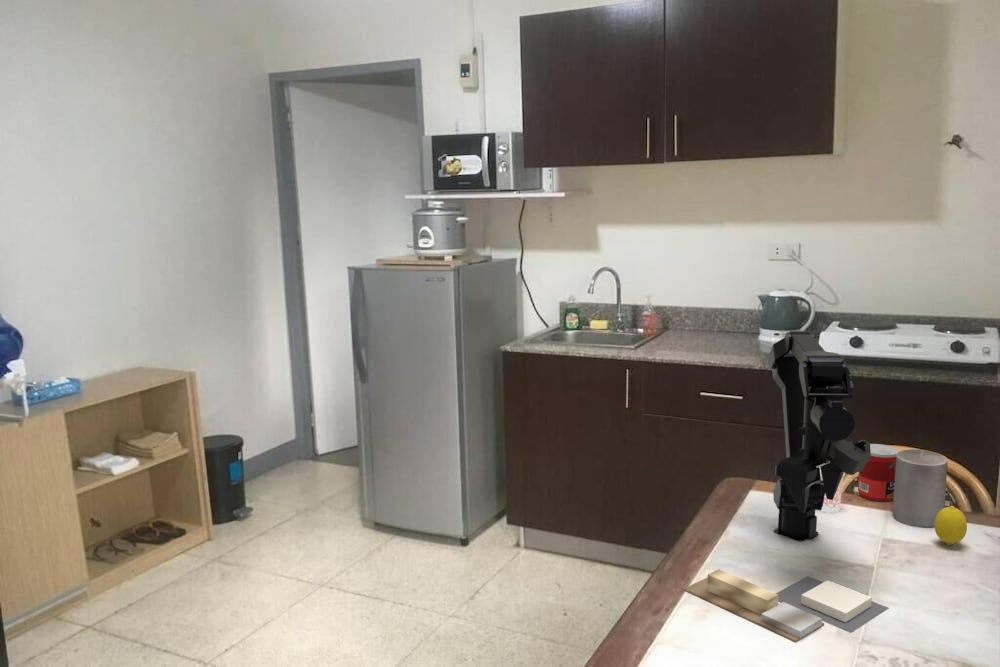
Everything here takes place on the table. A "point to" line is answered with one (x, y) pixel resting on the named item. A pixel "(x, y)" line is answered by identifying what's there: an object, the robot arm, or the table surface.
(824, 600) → the tile
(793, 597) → the mat
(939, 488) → the pillar candle
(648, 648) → the table surface
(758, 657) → the table surface
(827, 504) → the beverage cup
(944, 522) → the lemon
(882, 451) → the canned food
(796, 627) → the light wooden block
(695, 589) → the board
